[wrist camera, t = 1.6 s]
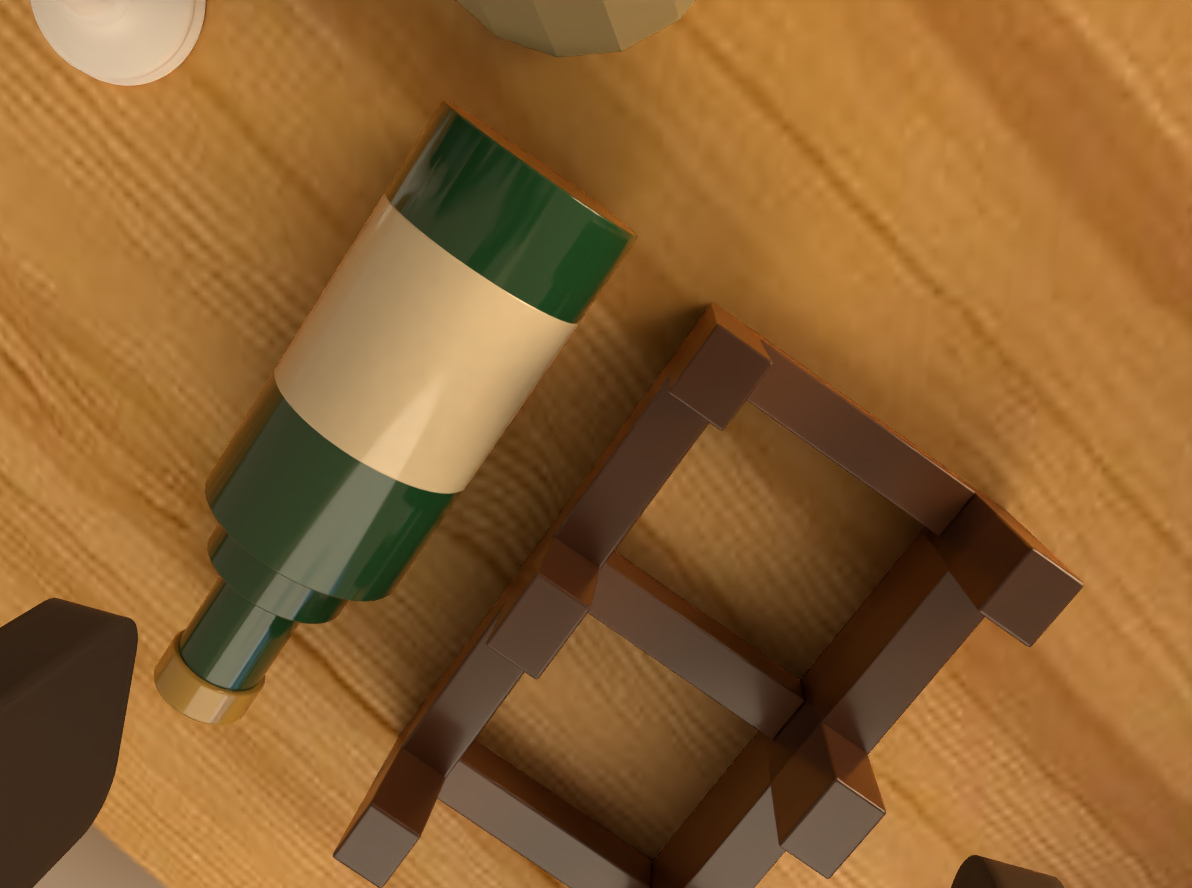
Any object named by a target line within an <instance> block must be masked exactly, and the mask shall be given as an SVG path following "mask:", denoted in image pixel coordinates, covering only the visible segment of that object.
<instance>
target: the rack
mask: <svg viewBox="0 0 1192 888" xmlns="http://www.w3.org/2000/svg"><path fill="white" fill-rule="evenodd" d="M746 400H747V401H749V402H750V403H751V404H753V405H754V406H756V407H757V408H758V409H760V410H761V411H763V412H764V413H766V414H767V415H768V416H770V417H771V418H773V419H774V420H775V421H777V422H778V423H780V424H781V425H782V426H784V427H785V428H787V429H788V430H790V431H791V432H792V433H794V434H795V435H797V436H798V437H799V438H801V439H802V440H804V441H805V442H806V443H808V444H809V445H811V446H812V447H814V448H815V449H816V450H818V451H819V452H821V453H822V454H823V455H825V456H826V457H828V458H829V459H831V460H832V461H833V462H835V463H836V464H838V465H839V466H840V467H842V468H843V469H845V470H846V471H847V472H849V473H850V474H852V475H853V476H855V477H856V478H857V479H859V480H860V481H862V482H863V483H864V484H866V485H867V486H869V487H870V488H871V489H873V490H874V491H876V492H877V493H879V494H880V495H881V496H883V497H884V498H886V499H887V500H888V501H890V502H891V503H893V504H894V505H896V506H897V507H898V508H900V509H901V510H903V511H904V512H905V513H907V514H908V515H910V516H911V517H912V518H914V519H915V520H917V521H918V522H920V523H921V524H922V525H924V526H925V529H924V530H923V531H922V532H921V534H920V535H919V536H918V537H917V538H916V540H915V541H914V542H913V543H912V545H911V546H910V547H909V548H908V549H907V551H906V552H905V553H904V554H903V556H902V557H901V558H900V559H899V560H898V562H897V563H896V564H895V565H894V567H893V568H892V569H891V570H890V571H889V573H888V574H887V575H886V576H885V578H884V579H883V580H882V581H881V582H880V584H879V585H878V586H877V587H876V589H875V590H874V591H873V592H872V594H871V595H870V596H869V597H868V598H867V600H866V601H865V602H864V603H863V605H862V606H861V607H860V608H859V609H858V611H857V612H856V613H855V614H854V616H853V617H852V618H851V619H850V620H849V622H848V623H847V624H846V625H845V627H844V628H843V629H842V630H841V631H840V633H839V634H838V635H837V636H836V638H835V639H834V640H833V641H832V643H831V644H830V645H829V646H828V647H827V649H826V650H825V651H824V652H823V654H822V655H821V656H820V657H819V658H818V660H817V661H816V662H815V663H814V665H813V666H812V667H811V668H810V669H809V671H808V672H807V673H806V674H805V676H804V677H803V678H802V679H801V680H799V679H798V678H796V677H795V676H793V675H792V674H791V673H789V672H788V671H786V670H785V669H783V668H782V667H780V666H779V665H778V664H776V663H775V662H773V661H772V660H770V659H769V658H767V657H766V656H765V655H763V654H762V653H760V652H759V651H757V650H756V649H755V648H753V647H752V646H750V645H749V644H747V643H746V642H744V641H743V640H742V639H740V638H739V637H737V636H736V635H734V634H733V633H731V632H730V631H729V630H727V629H726V628H724V627H723V626H721V625H720V624H718V623H717V622H716V621H714V620H713V619H711V618H710V617H708V616H707V615H706V614H704V613H703V612H701V611H700V610H698V609H697V608H695V607H694V606H693V605H691V604H690V603H688V602H687V601H685V600H684V599H682V598H681V597H680V596H678V595H677V594H675V593H674V592H672V591H671V590H670V589H668V588H667V587H665V586H664V585H662V584H661V583H659V582H658V581H657V580H655V579H654V578H652V577H651V576H649V575H648V574H646V573H645V572H644V571H642V570H641V569H639V568H638V567H636V566H635V565H634V564H632V563H631V562H629V561H628V560H626V559H625V558H623V557H622V556H621V555H619V554H618V553H616V552H615V550H616V548H617V547H618V545H619V544H620V543H621V541H622V540H623V539H624V537H625V536H626V535H627V533H628V532H629V531H630V529H631V528H632V527H633V525H634V524H635V523H636V521H637V520H638V518H639V517H640V516H641V514H642V513H643V512H644V510H645V509H646V508H647V506H648V505H649V504H650V502H651V501H652V500H653V498H654V497H655V496H656V494H657V493H658V491H659V490H660V489H661V487H662V486H663V485H664V483H665V482H666V481H667V479H668V478H669V477H670V475H671V474H672V473H673V471H674V470H675V469H676V467H677V466H678V464H679V463H680V462H681V460H682V459H683V458H684V456H685V455H686V454H687V452H688V451H689V450H690V448H691V447H692V446H693V444H694V443H695V442H696V440H697V439H698V437H699V436H700V435H701V433H702V432H703V431H704V429H705V428H706V427H707V425H708V424H709V423H711V424H712V425H713V426H715V427H716V428H718V429H719V430H722V431H723V430H724V429H725V428H726V427H727V425H728V424H729V423H730V421H731V420H732V419H733V417H734V416H735V415H736V413H737V412H738V411H739V409H740V408H741V407H742V405H743V404H744V403H745V401H746ZM1083 586H1084V584H1083V582H1082V581H1081V580H1080V579H1079V578H1078V577H1077V576H1076V575H1075V574H1074V573H1072V572H1071V571H1070V570H1069V569H1068V568H1067V567H1066V566H1065V565H1064V564H1063V563H1062V562H1061V561H1060V560H1059V559H1057V558H1056V557H1055V556H1054V555H1053V554H1052V553H1051V552H1050V551H1049V550H1048V549H1047V548H1046V547H1045V546H1044V545H1043V544H1042V543H1041V542H1040V541H1038V540H1037V539H1036V538H1035V537H1034V536H1033V535H1032V534H1031V533H1030V532H1029V531H1028V530H1027V529H1026V528H1025V527H1023V526H1022V525H1021V524H1020V523H1019V522H1018V521H1017V520H1016V519H1015V518H1014V517H1013V516H1012V515H1011V514H1010V513H1008V512H1007V511H1006V510H1005V509H1004V508H1002V507H1001V506H999V505H998V504H997V503H995V502H994V501H992V500H991V499H989V498H988V497H987V496H985V495H984V494H982V493H981V492H980V491H978V490H977V489H975V488H974V487H973V486H971V485H970V484H968V483H967V482H966V481H964V480H963V479H961V478H960V477H959V476H957V475H956V474H954V473H953V472H952V471H950V470H949V469H947V468H946V467H944V466H943V465H942V464H940V463H939V462H937V461H936V460H935V459H933V458H932V457H930V456H929V455H928V454H926V453H925V452H923V451H922V450H921V449H919V448H918V447H916V446H915V445H914V444H912V443H911V442H909V441H908V440H907V439H905V438H904V437H902V436H901V435H900V434H898V433H897V432H895V431H894V430H893V429H891V428H890V427H888V426H887V425H885V424H884V423H883V422H881V421H880V420H878V419H877V418H876V417H874V416H873V415H871V414H870V413H869V412H867V411H866V410H864V409H863V408H862V407H860V406H859V405H857V404H856V403H855V402H853V401H852V400H850V399H849V398H848V397H846V396H845V395H843V394H842V393H841V392H839V391H838V390H836V389H835V388H834V387H832V386H831V385H829V384H828V383H827V382H825V381H824V380H822V379H821V378H819V377H818V376H817V375H815V374H814V373H812V372H811V371H810V370H808V369H807V368H805V367H804V366H803V365H801V364H800V363H798V362H797V361H796V360H794V359H793V358H791V357H790V356H789V355H787V354H786V353H784V352H783V351H782V350H780V349H779V348H777V347H776V346H775V345H773V344H772V343H770V342H769V341H768V340H766V339H765V338H763V337H762V336H760V335H757V334H756V332H755V331H753V330H752V329H751V328H749V327H748V326H746V325H745V324H744V323H742V322H741V321H739V320H738V319H737V318H735V317H734V316H732V315H731V314H730V313H728V312H727V311H725V310H724V309H723V308H721V307H720V306H718V305H717V304H716V303H714V302H712V303H711V304H710V305H709V307H708V308H707V309H706V311H705V312H704V313H703V315H702V316H701V318H700V319H699V320H698V322H697V323H696V325H695V326H694V327H693V329H692V330H691V332H690V333H689V334H688V336H687V337H686V338H685V340H684V341H683V343H682V344H681V345H680V347H679V348H678V350H677V351H676V352H675V354H674V355H673V357H672V358H671V359H670V361H669V362H668V364H667V365H666V366H665V368H664V369H663V371H662V372H661V373H660V375H659V376H658V378H657V379H656V380H655V382H654V383H653V384H652V386H651V387H650V389H649V390H648V391H647V393H646V394H645V396H644V397H643V398H642V400H641V401H640V403H639V404H638V405H637V407H636V408H635V409H634V411H633V412H632V414H631V415H630V416H629V418H628V419H627V421H626V422H625V423H624V425H623V426H622V428H621V429H620V430H619V432H618V433H617V435H616V436H615V437H614V439H613V440H612V441H611V443H610V444H609V446H608V447H607V448H606V450H605V451H604V453H603V454H602V455H601V457H600V458H599V460H598V461H597V462H596V464H595V465H594V466H593V468H592V469H591V471H590V472H589V473H588V475H587V476H586V478H585V479H584V480H583V482H582V483H581V485H580V486H579V487H578V489H577V490H576V492H575V493H574V494H573V496H572V497H571V498H570V500H569V501H568V503H567V504H566V505H565V507H564V508H563V510H562V511H561V512H560V514H559V515H558V517H557V518H556V519H555V521H554V522H553V523H552V525H551V526H550V528H549V529H548V530H547V532H546V533H545V535H544V536H543V537H542V539H541V540H540V542H539V543H538V544H537V546H536V547H535V548H534V550H533V551H532V553H531V554H530V555H529V557H528V558H527V560H526V561H525V562H524V564H523V565H522V567H521V568H520V569H519V571H518V572H517V574H516V575H515V576H514V578H513V579H512V580H511V582H510V583H509V585H508V586H507V587H506V589H505V590H504V592H503V593H502V594H501V596H500V597H499V599H498V600H497V601H496V603H495V604H494V606H493V607H492V608H491V610H490V611H489V612H488V614H487V615H486V617H485V618H484V619H483V621H482V622H481V624H480V625H479V626H478V628H477V629H476V631H475V632H474V633H473V635H472V636H471V637H470V639H469V640H468V642H467V643H466V644H465V646H464V647H463V649H462V650H461V651H460V653H459V654H458V656H457V657H456V658H455V660H454V661H453V663H452V664H451V665H450V667H449V668H448V669H447V671H446V672H445V674H444V675H443V676H442V678H441V679H440V681H439V682H438V683H437V685H436V686H435V688H434V689H433V690H432V692H431V693H430V694H429V696H428V697H427V699H426V700H425V701H424V703H423V704H422V706H421V707H420V708H419V710H418V711H417V713H416V714H415V715H414V717H413V718H412V719H411V721H410V722H409V724H408V725H407V726H406V728H405V729H404V731H403V732H402V733H401V735H400V736H399V738H398V739H397V741H396V742H395V744H394V746H393V748H392V749H391V751H390V753H389V755H388V757H387V758H386V760H385V762H384V764H383V765H382V767H381V769H380V771H379V773H378V774H377V776H376V778H375V780H374V781H373V783H372V785H371V787H370V789H369V790H368V792H367V794H366V796H365V798H364V799H363V801H362V803H361V805H360V806H359V808H358V810H357V812H356V814H355V815H354V817H353V819H352V821H351V822H350V824H349V826H348V828H347V830H346V831H345V833H344V835H343V837H342V839H341V840H340V842H339V844H338V846H337V847H336V849H335V851H334V853H333V857H334V858H335V859H337V860H338V861H340V862H341V863H343V864H344V865H346V866H347V867H349V868H350V869H352V870H353V871H355V872H356V873H358V874H359V875H361V876H362V877H364V878H365V879H367V880H368V881H370V882H371V883H373V884H374V885H376V886H377V887H379V888H382V887H384V885H385V884H386V883H387V881H388V880H389V879H390V877H391V876H392V875H393V873H394V872H395V870H396V869H397V868H398V866H399V865H400V864H401V862H402V861H403V860H404V858H405V857H406V856H407V854H408V853H409V852H410V850H411V849H412V848H413V846H414V845H415V844H416V842H417V841H418V840H419V838H420V837H421V834H422V832H423V830H424V828H425V825H426V823H427V821H428V818H429V816H430V814H431V811H432V809H433V807H434V805H435V802H436V800H437V799H439V800H440V801H442V802H443V803H445V804H446V805H448V806H449V807H451V808H452V809H454V810H455V811H457V812H458V813H460V814H461V815H463V816H464V817H466V818H467V819H469V820H470V821H472V822H473V823H475V824H476V825H477V826H479V827H480V828H482V829H483V830H485V831H486V832H488V833H489V834H491V835H492V836H494V837H495V838H497V839H498V840H500V841H501V842H503V843H504V844H506V845H507V846H509V847H510V848H512V849H513V850H515V851H516V852H518V853H519V854H521V855H522V856H523V857H525V858H526V859H528V860H529V861H531V862H532V863H534V864H535V865H537V866H538V867H540V868H541V869H543V870H544V871H546V872H547V873H549V874H550V875H552V876H553V877H555V878H556V879H558V880H559V881H561V882H562V883H564V884H565V885H567V886H568V887H569V888H754V887H755V886H756V885H757V884H758V883H759V882H760V880H761V879H762V878H763V877H764V876H765V875H766V873H767V872H768V871H769V870H770V869H771V868H772V866H773V865H774V864H775V863H776V862H777V860H778V859H779V858H780V857H781V856H782V855H783V853H784V852H785V851H787V852H789V853H790V854H792V855H793V856H795V857H796V858H797V859H799V860H800V861H802V862H803V863H805V864H806V865H808V866H809V867H811V868H812V869H814V870H815V871H816V872H818V873H819V874H821V875H822V876H824V877H825V878H827V879H829V878H830V877H831V876H832V875H833V874H834V873H835V872H836V870H837V869H838V868H839V867H840V866H841V865H842V864H843V862H844V861H845V860H846V859H847V858H848V857H849V855H850V854H851V853H852V852H853V851H854V850H855V849H856V847H857V846H858V845H859V844H860V843H861V842H862V841H863V839H864V838H865V837H866V836H867V835H868V834H869V832H870V831H871V830H872V829H873V828H874V827H875V826H876V824H877V823H878V822H879V821H880V820H881V819H882V818H883V816H884V815H885V814H886V810H885V807H884V804H883V801H882V798H881V794H880V791H879V788H878V785H877V782H876V779H875V776H874V773H873V770H872V767H871V764H870V761H869V758H868V754H869V752H870V751H871V750H872V749H873V748H874V747H875V745H876V744H877V743H878V742H879V741H880V740H881V738H882V737H883V736H884V735H885V734H886V732H887V731H888V730H889V729H890V728H891V727H892V725H893V724H894V723H895V722H896V721H897V720H898V718H899V717H900V716H901V715H902V714H903V713H904V711H905V710H906V709H907V708H908V707H909V705H910V704H911V703H912V702H913V701H914V700H915V698H916V697H917V696H918V695H919V694H920V693H921V691H922V690H923V689H924V688H925V687H926V686H927V684H928V683H929V682H930V681H931V680H932V678H933V677H934V676H935V675H936V674H937V673H938V671H939V670H940V669H941V668H942V667H943V666H944V664H945V663H946V662H947V661H948V660H949V659H950V657H951V656H952V655H953V654H954V653H955V651H956V650H957V649H958V648H959V647H960V646H961V644H962V643H963V642H964V641H965V640H966V639H967V637H968V636H969V635H970V634H971V633H972V632H973V630H974V629H975V628H976V627H977V626H978V624H979V623H980V622H981V621H982V620H983V619H984V617H986V618H987V619H989V620H990V621H992V622H993V623H994V624H996V625H997V626H999V627H1000V628H1002V629H1003V630H1004V631H1006V632H1007V633H1009V634H1010V635H1011V636H1013V637H1014V638H1016V639H1017V640H1019V641H1020V642H1021V643H1023V644H1024V645H1026V646H1028V647H1031V646H1032V645H1033V644H1034V643H1035V642H1036V641H1037V639H1038V638H1039V637H1040V636H1041V635H1042V634H1043V632H1044V631H1045V630H1046V629H1047V628H1048V627H1049V626H1050V624H1051V623H1052V622H1053V621H1054V620H1055V619H1056V618H1057V616H1058V615H1059V614H1060V613H1061V612H1062V611H1063V610H1064V608H1065V607H1066V606H1067V605H1068V604H1069V603H1070V601H1071V600H1072V599H1073V598H1074V597H1075V596H1076V595H1077V593H1078V592H1079V591H1080V590H1081V589H1082V588H1083ZM587 613H589V614H590V615H592V616H593V617H595V618H596V619H598V620H599V621H600V622H602V623H603V624H605V625H606V626H608V627H609V628H611V629H612V630H613V631H615V632H616V633H618V634H619V635H621V636H622V637H624V638H625V639H627V640H628V641H629V642H631V643H632V644H634V645H635V646H637V647H638V648H640V649H641V650H642V651H644V652H645V653H647V654H648V655H650V656H651V657H653V658H654V659H656V660H657V661H658V662H660V663H661V664H663V665H664V666H666V667H667V668H669V669H670V670H671V671H673V672H674V673H676V674H677V675H679V676H680V677H682V678H683V679H685V680H686V681H687V682H689V683H690V684H692V685H693V686H695V687H696V688H698V689H699V690H700V691H702V692H703V693H705V694H706V695H708V696H709V697H711V698H712V699H714V700H715V701H716V702H718V703H719V704H721V705H722V706H724V707H725V708H727V709H728V710H729V711H731V712H732V713H734V714H735V715H737V716H738V717H740V718H741V719H743V720H744V721H745V722H747V723H748V724H750V725H751V726H753V727H754V728H756V729H757V730H758V731H759V732H758V733H757V734H756V736H755V737H754V738H753V739H752V740H751V742H750V743H749V744H748V745H747V747H746V748H745V749H744V750H743V752H742V753H741V754H740V755H739V756H738V758H737V759H736V760H735V761H734V763H733V764H732V765H731V766H730V767H729V769H728V770H727V771H726V772H725V774H724V775H723V776H722V777H721V778H720V780H719V781H718V782H717V783H716V785H715V786H714V787H713V788H712V789H711V791H710V792H709V793H708V794H707V796H706V797H705V798H704V799H703V800H702V802H701V803H700V804H699V805H698V807H697V808H696V809H695V810H694V812H693V813H692V814H691V815H690V816H689V818H688V819H687V820H686V821H685V823H684V824H683V825H682V826H681V827H680V829H679V830H678V831H677V832H676V834H675V835H674V836H673V837H672V838H671V840H670V841H669V842H668V843H667V845H666V846H665V847H664V848H663V849H662V851H661V852H660V853H659V854H658V856H657V857H656V858H655V859H654V860H653V862H652V861H651V860H650V859H649V858H647V857H646V856H644V855H643V854H641V853H640V852H638V851H637V850H635V849H634V848H633V847H631V846H630V845H628V844H627V843H625V842H624V841H622V840H621V839H619V838H618V837H616V836H615V835H613V834H612V833H610V832H609V831H607V830H606V829H605V828H603V827H602V826H600V825H599V824H597V823H596V822H594V821H593V820H591V819H590V818H588V817H587V816H585V815H584V814H582V813H581V812H579V811H578V810H577V809H575V808H574V807H572V806H571V805H569V804H568V803H566V802H565V801H563V800H562V799H560V798H559V797H557V796H556V795H554V794H553V793H551V792H550V791H549V790H547V789H546V788H544V787H543V786H541V785H540V784H538V783H537V782H535V781H534V780H532V779H531V778H529V777H528V776H526V775H525V774H523V773H522V772H521V771H519V770H518V769H516V768H515V767H513V766H512V765H510V764H509V763H507V762H506V761H504V760H503V759H501V758H500V757H498V756H497V755H495V754H494V753H493V752H491V751H490V750H488V749H487V748H485V747H484V746H482V745H481V744H479V743H478V742H476V741H475V739H476V737H477V736H478V735H479V733H480V732H481V730H482V729H483V728H484V726H485V725H486V724H487V722H488V721H489V720H490V718H491V717H492V716H493V714H494V713H495V712H496V710H497V709H498V708H499V706H500V705H501V703H502V702H503V701H504V699H505V698H506V697H507V695H508V694H509V693H510V691H511V690H512V689H513V687H514V686H515V685H516V683H517V682H518V681H519V679H520V678H521V676H522V675H523V674H524V672H526V673H527V674H529V675H530V676H531V677H533V678H534V679H538V678H539V677H540V676H541V675H542V673H543V672H544V671H545V669H546V668H547V667H548V665H549V664H550V663H551V661H552V660H553V659H554V657H555V656H556V655H557V653H558V652H559V651H560V649H561V648H562V647H563V645H564V644H565V643H566V641H567V640H568V638H569V637H570V636H571V634H572V633H573V632H574V630H575V629H576V628H577V626H578V625H579V624H580V622H581V621H582V620H583V618H584V617H585V616H586V614H587Z"/></svg>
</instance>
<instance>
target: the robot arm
mask: <svg viewBox="0 0 1192 888" xmlns="http://www.w3.org/2000/svg"><path fill="white" fill-rule="evenodd" d="M137 643H138V633H137V627H136V624H135V622H134V621H133V620H132V619H130V618H127V617H123V616H120V615H116V614H112V613H109V612H105V611H102V610H98V609H94V608H91V607H87V606H84V605H80V604H76V603H73V602H69V601H66V600H62V599H58V598H51V599H48V600H46V601H44V602H42V603H40V604H39V605H37V606H35V607H34V608H32V609H30V610H29V611H27V612H25V613H24V614H22V615H20V616H19V617H17V618H15V619H14V620H12V621H10V622H9V623H7V624H6V625H4V626H2V627H1V628H0V888H33V887H34V886H35V885H36V884H37V883H38V881H39V880H40V879H41V878H42V877H43V876H44V875H45V874H46V873H47V872H48V871H49V870H50V869H51V868H52V867H53V866H54V865H55V864H56V863H57V862H58V861H59V860H60V859H61V858H62V857H63V856H64V855H65V854H66V853H67V852H68V851H69V850H70V849H71V847H72V846H73V845H74V844H75V843H76V842H77V841H78V840H79V839H80V838H81V837H82V836H83V835H84V834H85V832H86V831H87V830H88V829H89V827H90V826H91V825H92V823H93V822H94V820H95V818H96V817H97V815H98V813H99V811H100V810H101V808H102V806H103V804H104V802H105V800H106V797H107V795H108V792H109V790H110V787H111V784H112V782H113V778H114V775H115V771H116V767H117V762H118V756H119V750H120V744H121V738H122V733H123V727H124V721H125V715H126V709H127V703H128V698H129V692H130V686H131V680H132V674H133V668H134V663H135V657H136V651H137ZM951 888H1064V886H1063V885H1062V883H1061V882H1060V881H1059V880H1058V879H1057V878H1055V877H1053V876H1050V875H1046V874H1043V873H1039V872H1035V871H1032V870H1028V869H1025V868H1021V867H1017V866H1014V865H1010V864H1007V863H1003V862H999V861H996V860H992V859H989V858H985V857H981V856H978V855H972V856H970V857H968V858H967V859H966V860H965V861H964V862H963V864H962V865H961V866H960V868H959V870H958V872H957V874H956V876H955V879H954V881H953V884H952V886H951Z"/></svg>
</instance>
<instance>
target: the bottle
mask: <svg viewBox="0 0 1192 888" xmlns="http://www.w3.org/2000/svg"><path fill="white" fill-rule="evenodd" d="M637 237H638V236H637V234H636V233H635V232H634V231H633V230H632V229H631V228H629V227H628V226H627V225H626V224H625V223H623V222H622V221H621V220H620V219H618V218H617V217H616V216H614V215H613V214H612V213H611V212H609V211H608V210H607V209H605V208H604V207H603V206H601V205H600V204H599V203H597V202H596V201H595V200H593V199H592V198H591V197H589V196H588V195H587V194H585V193H584V192H582V191H581V190H580V189H578V188H577V187H576V186H574V185H573V184H571V183H570V182H569V181H567V180H566V179H565V178H563V177H562V176H560V175H559V174H558V173H556V172H555V171H553V170H552V169H551V168H549V167H548V166H546V165H545V164H543V163H542V162H541V161H539V160H538V159H536V158H535V157H533V156H532V155H531V154H529V153H528V152H526V151H525V150H523V149H522V148H520V147H519V146H518V145H516V144H515V143H513V142H512V141H510V140H509V139H507V138H506V137H504V136H503V135H501V134H500V133H498V132H497V131H495V130H494V129H492V128H491V127H489V126H488V125H486V124H485V123H483V122H482V121H480V120H479V119H477V118H476V117H474V116H473V115H471V114H469V113H468V112H466V111H465V110H463V109H461V108H460V107H458V106H456V105H455V104H453V103H451V102H449V101H447V100H443V101H442V102H441V103H440V105H439V107H438V108H437V110H436V111H435V113H434V115H433V116H432V118H431V119H430V121H429V123H428V124H427V126H426V127H425V129H424V131H423V132H422V134H421V135H420V137H419V139H418V140H417V142H416V144H415V145H414V147H413V148H412V150H411V152H410V153H409V155H408V156H407V158H406V160H405V161H404V163H403V164H402V166H401V168H400V169H399V171H398V172H397V174H396V176H395V177H394V179H393V180H392V182H391V184H390V185H389V187H388V188H387V190H386V192H384V193H383V195H382V197H381V198H380V200H379V201H378V203H377V205H376V206H375V208H374V209H373V211H372V213H371V214H370V216H369V217H368V219H367V221H366V222H365V224H364V225H363V227H362V229H361V230H360V232H359V234H358V235H357V237H356V238H355V240H354V242H353V243H352V245H351V246H350V248H349V250H348V251H347V253H346V254H345V256H344V258H343V259H342V261H341V262H340V264H339V266H338V267H337V269H336V270H335V272H334V274H333V275H332V277H331V278H330V280H329V282H328V283H327V285H326V287H325V288H324V290H323V291H322V293H321V295H320V296H319V298H318V299H317V301H316V303H315V304H314V306H313V307H312V309H311V311H310V312H309V314H308V315H307V317H306V319H305V320H304V322H303V323H302V325H301V327H300V328H299V330H298V332H297V333H296V335H295V336H294V338H293V340H292V341H291V343H290V344H289V346H288V348H287V349H286V351H285V352H284V354H283V356H282V357H281V359H280V360H279V362H278V364H277V365H276V367H275V370H274V372H273V373H272V375H271V376H270V378H269V380H268V381H267V383H266V384H265V386H264V388H263V389H262V391H261V392H260V394H259V396H258V397H257V399H256V400H255V402H254V404H253V405H252V407H251V408H250V410H249V412H248V413H247V415H246V417H245V418H244V420H243V421H242V423H241V425H240V426H239V428H238V429H237V431H236V433H235V434H234V436H233V437H232V439H231V441H230V442H229V444H228V445H227V447H226V449H225V450H224V452H223V453H222V455H221V457H220V458H219V460H218V461H217V463H216V465H215V466H214V468H213V470H212V471H211V473H210V474H209V476H208V478H207V480H206V483H205V495H206V500H207V502H208V505H209V507H210V509H211V511H212V513H213V515H214V516H215V518H216V519H217V521H218V522H219V524H218V525H217V527H216V529H215V530H214V532H213V533H212V535H211V536H210V538H209V541H208V548H207V550H208V555H209V558H210V561H211V563H212V565H213V567H214V568H215V570H216V571H217V573H218V574H219V575H220V577H219V578H218V580H217V581H216V583H215V584H214V586H213V588H212V589H211V591H210V592H209V594H208V595H207V597H206V599H205V600H204V602H203V603H202V605H201V606H200V608H199V609H198V611H197V613H196V614H195V616H194V617H193V619H192V620H191V622H190V623H189V625H188V627H187V628H186V629H185V630H183V631H181V632H179V633H178V634H177V635H176V636H175V637H174V638H173V640H172V642H171V643H170V645H169V646H168V648H167V649H166V651H165V653H164V654H163V656H162V657H161V659H160V660H159V662H158V663H157V665H156V667H155V670H154V682H155V685H156V688H157V690H158V691H159V693H160V695H161V696H162V697H163V698H164V700H165V701H166V702H167V703H168V704H169V705H171V706H172V707H173V708H174V709H176V710H177V711H178V712H180V713H182V714H183V715H185V716H187V717H189V718H191V719H193V720H196V721H199V722H202V723H206V724H212V725H226V724H231V723H233V722H236V721H237V720H239V719H241V718H242V717H243V716H244V714H245V713H246V711H247V710H248V708H249V707H250V705H251V704H252V702H253V701H254V700H255V698H256V697H257V695H258V694H259V692H260V691H261V689H262V688H263V686H264V683H265V674H266V672H267V671H268V669H269V668H270V666H271V665H272V663H273V662H274V660H275V659H276V658H277V656H278V655H279V653H280V652H281V650H282V649H283V647H284V646H285V644H286V643H287V641H288V640H289V638H290V637H291V635H292V634H293V632H294V631H295V629H296V628H297V626H298V625H299V623H306V624H321V623H326V622H329V621H331V620H333V619H335V618H336V617H337V616H338V615H339V614H340V613H341V611H342V610H343V608H344V607H345V605H346V604H347V602H348V601H349V600H351V601H375V600H379V599H383V598H384V597H386V596H388V595H390V594H391V593H392V592H393V591H394V590H395V589H396V587H397V586H398V584H399V583H400V581H401V580H402V579H403V577H404V576H405V574H406V573H407V571H408V570H409V568H410V567H411V566H412V564H413V563H414V561H415V560H416V558H417V557H418V555H419V554H420V553H421V551H422V550H423V548H424V547H425V545H426V544H427V542H428V541H429V539H430V538H431V537H432V535H433V534H434V532H435V531H436V529H437V528H438V526H439V525H440V524H441V522H442V521H443V519H444V518H445V516H446V515H447V513H448V512H449V510H450V509H451V508H452V506H453V505H454V503H455V502H456V500H457V499H458V497H459V496H460V495H461V493H462V492H463V490H464V489H465V488H466V487H467V486H468V484H469V483H470V481H471V480H472V478H473V477H474V476H475V474H476V473H477V471H478V470H479V468H480V467H481V465H482V464H483V463H484V461H485V460H486V458H487V457H488V455H489V454H490V452H491V451H492V450H493V448H494V447H495V445H496V444H497V442H498V441H499V439H500V438H501V436H502V435H503V434H504V432H505V431H506V429H507V428H508V426H509V425H510V423H511V422H512V421H513V419H514V418H515V416H516V415H517V413H518V412H519V410H520V409H521V408H522V406H523V405H524V403H525V402H526V400H527V399H528V397H529V396H530V394H531V393H532V392H533V390H534V389H535V387H536V386H537V384H538V383H539V381H540V380H541V379H542V377H543V376H544V374H545V373H546V371H547V370H548V368H549V367H550V366H551V364H552V363H553V361H554V360H555V358H556V357H557V355H558V354H559V352H560V351H561V350H562V348H563V347H564V345H565V344H566V342H567V341H568V339H569V338H570V337H571V335H572V334H573V332H574V331H575V329H576V328H577V326H578V325H579V322H580V321H581V319H582V318H583V316H584V315H585V313H586V312H587V311H588V309H589V308H590V306H591V305H592V303H593V302H594V300H595V299H596V298H597V296H598V295H599V293H600V292H601V290H602V289H603V287H604V286H605V285H606V283H607V282H608V280H609V279H610V277H611V276H612V274H613V273H614V271H615V270H616V269H617V267H618V266H619V264H620V263H621V261H622V260H623V258H624V257H625V256H626V254H627V253H628V251H629V250H630V248H631V247H632V245H633V244H634V242H635V241H636V240H637Z"/></svg>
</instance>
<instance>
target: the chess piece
mask: <svg viewBox="0 0 1192 888" xmlns="http://www.w3.org/2000/svg"><path fill="white" fill-rule="evenodd" d="M30 3H31V7H32V11H33V14H34V17H35V19H36V22H37V24H38V26H39V28H40V30H41V32H42V34H43V35H44V37H45V39H46V40H47V41H48V43H49V44H50V45H51V47H52V48H53V49H54V50H55V51H56V52H57V53H58V54H59V55H60V56H61V57H62V58H63V59H64V60H65V61H66V62H68V63H69V64H70V65H72V66H73V67H75V68H76V69H78V70H80V71H82V72H84V73H86V74H88V75H89V76H91V77H93V78H95V79H98V80H100V81H103V82H106V83H110V84H115V85H123V86H133V85H141V84H146V83H150V82H153V81H155V80H158V79H160V78H162V77H164V76H166V75H167V74H169V73H170V72H172V71H173V70H174V69H176V68H177V67H178V66H179V65H180V64H181V63H182V62H183V61H184V60H185V59H186V57H187V56H188V55H189V53H190V52H191V50H192V49H193V47H194V45H195V43H196V41H197V39H198V37H199V34H200V32H201V29H202V25H203V21H204V15H205V5H206V0H30Z"/></svg>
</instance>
